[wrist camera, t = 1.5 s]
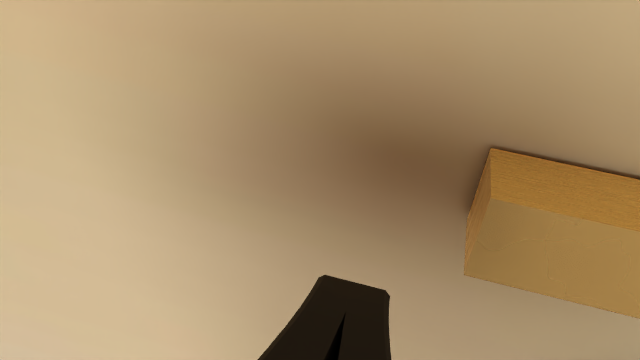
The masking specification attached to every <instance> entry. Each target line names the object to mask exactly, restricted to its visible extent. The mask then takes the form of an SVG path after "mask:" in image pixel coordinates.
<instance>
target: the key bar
mask: <svg viewBox="0 0 640 360" xmlns="http://www.w3.org/2000/svg"><path fill="white" fill-rule="evenodd" d="M464 275H466V276H470V277H474V278H478V279H482V280H486V281H490V282H495V283H499V284H503V285H507V286H511V287H515V288H519V289H523V290H527V291H531V292H535V293H539V294H543V295H547V296H551V297H555V298H559V299H563V300H567V301H571V302H575V303H579V304H583V305H587V306H591V307H595V308H599V309H603V310H607V311H611V312H615V313H620V314H624V315H628V316H632V317H636V318H640V180H639V179H634V178H629V177H625V176H620V175H615V174H611V173H606V172H601V171H597V170H592V169H587V168H582V167H578V166H573V165H568V164H564V163H559V162H554V161H550V160H545V159H540V158H536V157H531V156H526V155H522V154H517V153H512V152H508V151H503V150H498V149H494V148H491V149H490V152H489V155H488V158H487V161H486V164H485V167H484V170H483V173H482V176H481V179H480V182H479V185H478V188H477V191H476V194H475V197H474V200H473V203H472V206H471V209H470V212H469V215H468V218H467V229H466V248H465V266H464Z"/></svg>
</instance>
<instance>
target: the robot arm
mask: <svg viewBox="0 0 640 360" xmlns="http://www.w3.org/2000/svg"><path fill="white" fill-rule="evenodd" d="M389 300H390V296H389V294H388V293H387V292H386V290H382V289H378V288H374V287H370V286H366V285H363V284H359V283H355V282H351V281H347V280H343V279H339V278H335V277H331V276H327V275H323V276H321V277H319V278H318V280H317V282H316V283H315V285H314V287H313V289H312V290H311V292H310V293H309V295H308V296H307V298H306V299H305V301H304V302H303V304H302V305H301V307H300V308H299V309H298V311H297V312H296V313H295V315H294V316H293V317H292V319H291V320H290V321H289V323H288V324H287V325H286V327H285V328H284V329H283V330H282V331H281V333H280V334H279V335H278V336H277V337H276V339H275V340H274V341H273V342H272V343H271V345H270V346H269V347H268V348H267V349H266V351H265V352H264V353H263V354H262V355H261V356H260V358H259V359H258V360H391V352H390V339H389Z"/></svg>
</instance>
